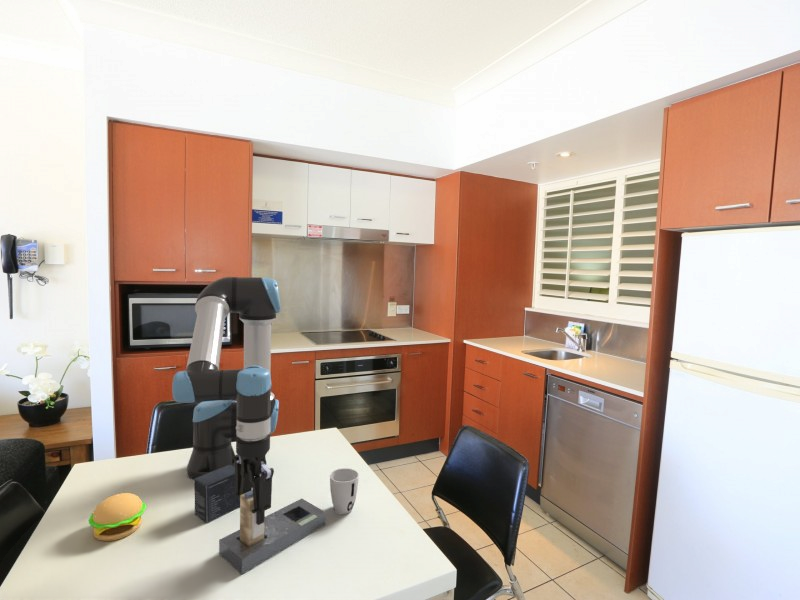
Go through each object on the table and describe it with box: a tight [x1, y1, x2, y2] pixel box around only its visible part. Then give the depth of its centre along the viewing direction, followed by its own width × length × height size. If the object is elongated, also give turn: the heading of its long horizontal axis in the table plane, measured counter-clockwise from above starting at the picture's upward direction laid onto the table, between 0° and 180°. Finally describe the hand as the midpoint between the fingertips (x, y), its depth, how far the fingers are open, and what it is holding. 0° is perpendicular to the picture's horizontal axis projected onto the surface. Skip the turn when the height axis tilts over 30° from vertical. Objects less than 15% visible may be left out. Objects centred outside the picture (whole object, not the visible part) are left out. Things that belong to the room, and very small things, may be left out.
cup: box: [329, 467, 360, 515], centre depth 116 cm, size 8×8×10 cm
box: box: [193, 465, 240, 524], centre depth 113 cm, size 11×7×10 cm, turn 145°
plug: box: [239, 490, 266, 548], centre depth 97 cm, size 4×4×15 cm
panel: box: [218, 498, 327, 575], centre depth 102 cm, size 10×24×4 cm, turn 141°
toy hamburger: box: [88, 492, 147, 542], centre depth 104 cm, size 12×12×9 cm
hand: (252, 530), depth 97 cm, fingers closed on plug, 4 cm apart
